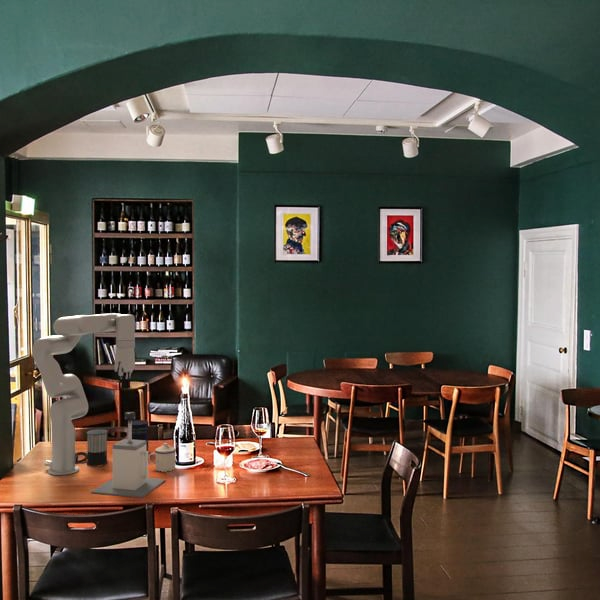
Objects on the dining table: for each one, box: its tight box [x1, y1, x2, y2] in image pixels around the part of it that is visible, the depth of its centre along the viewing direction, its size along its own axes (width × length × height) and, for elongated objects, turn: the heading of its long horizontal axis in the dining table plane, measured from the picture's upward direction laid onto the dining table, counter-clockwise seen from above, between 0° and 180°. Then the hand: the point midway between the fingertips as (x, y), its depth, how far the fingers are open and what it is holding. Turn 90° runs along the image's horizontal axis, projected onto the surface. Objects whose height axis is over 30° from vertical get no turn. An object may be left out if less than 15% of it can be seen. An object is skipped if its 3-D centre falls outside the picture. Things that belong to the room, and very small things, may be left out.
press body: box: [111, 438, 149, 490], centre depth 268 cm, size 13×10×18 cm
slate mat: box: [90, 477, 166, 499], centre depth 268 cm, size 22×22×1 cm
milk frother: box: [75, 428, 108, 467], centre depth 301 cm, size 14×16×15 cm
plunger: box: [124, 411, 136, 443], centre depth 267 cm, size 4×4×18 cm
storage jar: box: [132, 419, 149, 452], centre depth 319 cm, size 10×10×15 cm
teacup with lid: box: [148, 442, 177, 473], centre depth 293 cm, size 12×9×12 cm
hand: (125, 388), depth 272 cm, fingers closed
